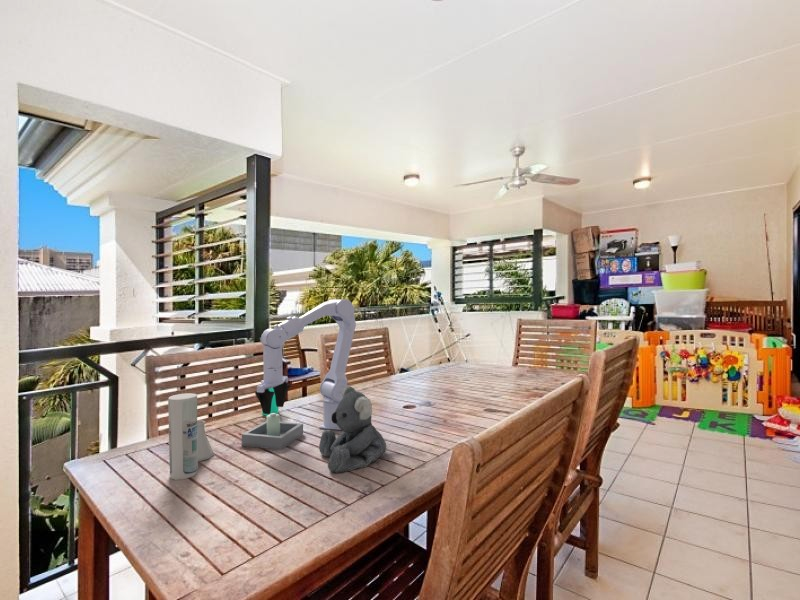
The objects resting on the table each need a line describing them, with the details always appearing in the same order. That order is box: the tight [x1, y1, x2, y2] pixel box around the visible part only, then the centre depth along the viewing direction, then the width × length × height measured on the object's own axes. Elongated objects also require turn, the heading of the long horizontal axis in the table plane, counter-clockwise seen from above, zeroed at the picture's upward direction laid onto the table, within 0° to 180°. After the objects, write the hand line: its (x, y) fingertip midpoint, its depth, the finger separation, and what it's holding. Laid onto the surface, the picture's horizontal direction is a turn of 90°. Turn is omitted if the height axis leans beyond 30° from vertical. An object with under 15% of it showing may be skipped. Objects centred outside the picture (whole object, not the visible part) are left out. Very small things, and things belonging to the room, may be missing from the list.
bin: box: [241, 420, 304, 451], centre depth 127 cm, size 13×13×4 cm
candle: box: [261, 388, 279, 416], centre depth 155 cm, size 6×6×12 cm
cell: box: [266, 413, 281, 436], centre depth 127 cm, size 4×4×8 cm
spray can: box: [167, 392, 199, 481], centre depth 103 cm, size 6×6×20 cm
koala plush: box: [318, 385, 387, 473], centre depth 112 cm, size 17×18×20 cm
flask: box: [197, 420, 215, 462], centre depth 114 cm, size 7×7×10 cm
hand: (273, 410), depth 127 cm, fingers open, 7 cm apart
